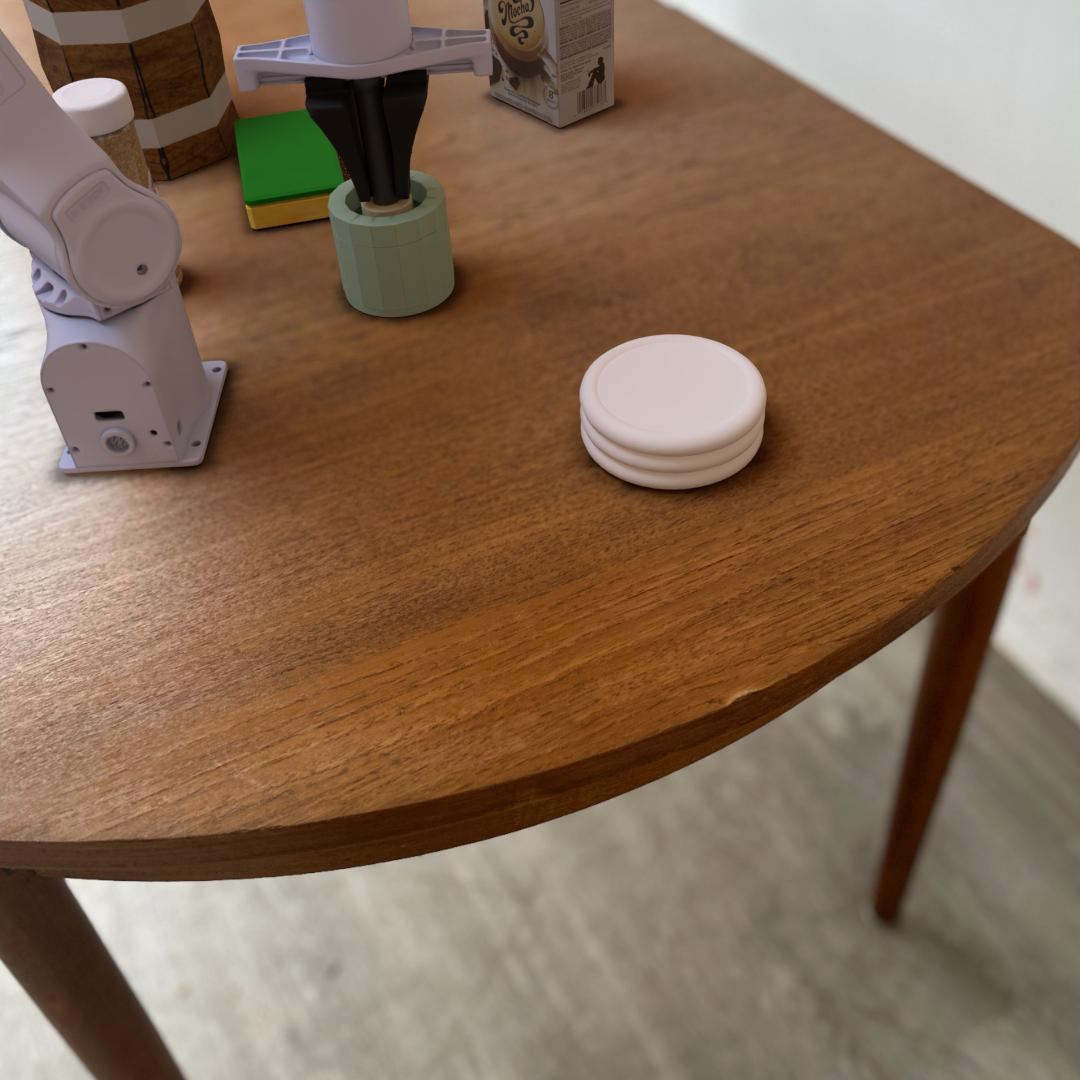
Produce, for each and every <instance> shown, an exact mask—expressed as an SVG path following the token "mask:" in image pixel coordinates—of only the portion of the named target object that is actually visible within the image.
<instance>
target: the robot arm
mask: <svg viewBox="0 0 1080 1080" xmlns="http://www.w3.org/2000/svg"><path fill="white" fill-rule="evenodd" d="M302 4H303V9H304V14H305V18H306V26H307V30H308V33H306V34H301V35H295V36H291V37H285V38H280V39H276V40H270V41H265V42H259V43H252V44H240V45H238V46H237V48H236V50H235V53H234V54H233V57H232V63H233V67H234V71H235V75H236V79H237V80H236V81H237V84H238V88H239V91H240V93H247V92H257V91H259V90H260V89H261V87H263V86H264V87H265V86H279V85H280V86H281V85H294V84H304V88H305V100H304V106H305V109H307V112H308V114H309V116H310V118H311V119H312V120H313V121H314V122H315V123H316V124H317V126H318V127H319V128H320V129H321V130H322V132H323V133H324V134H325V136H326V137H327V138H328V140H329V141H330V143H331V144H332V145H333V147H334V149H335V150H336V152H337V156H338V158H340V160H341V162H342V164H343V166H344V167H345V169H346V172H347V173H348V176H349V178H350V179H351V180H352V182H353V185H354V187H355V190H356V193H357V196H358V199H359V202H371V191H370V185H369V179H368V174H367V169H366V163H365V157H364V151H363V145H362V139H361V133H360V127H359V121H358V115H357V109H356V103H355V97H354V91H353V89H352V87H351V83H350V80H351V79H367V78H374V77H379V76H381V77H382V78H385V85H384V92H383V99H382V100H383V107H384V111H385V115H386V119H387V124H388V129H389V134H390V139H391V145H392V150H393V159H394V174H395V187H396V193H397V198H398V200H406V199H409V198H410V188H411V181H410V170H411V159H412V153H413V148H414V144H415V139H416V136H417V132H418V128H419V126H420V122H421V119H422V116H423V113H424V110H425V107H426V103H427V99H428V92H429V81H430V76H434V75H444V74H445V75H449V74H465V73H473V74H472V75H473V76H474V77H489V76H492V75H493V59H492V46H491V34H490V29H485V28H479V29H477V28H476V29H464V28H463V29H462V28H450V27H449V28H448V27H433V26H420V25H411V17H410V8H409V0H302ZM0 230H1V231H2V232H3V233H4V234H5V235H6V236H7V237H8V238H10V239H11V240H12V241H13V242H15V243H17V244H19V245H20V246H22V247H24V248H25V249H27V250H28V252H29V254H30V256H31V282H32V285H31V288H32V290H33V293H34V296H35V299H36V300H37V303H38V305H39V308H40V311H41V313H42V316H43V320H44V323H45V329H46V345H45V351H44V355H43V359H42V361H41V365H40V371H39V378H40V385H41V388H42V392H43V394H44V396H45V398H46V401H47V403H48V406H49V407H50V410H51V413H52V415H53V417H54V419H55V422H56V424H57V426H58V429H59V431H60V434H61V436H62V439H63V441H64V443H65V447H64V450H63V452H62V455H61V457H60V459H59V462H58V468H59V470H60V472H61V473H63V474H81V473H96V472H113V471H115V472H116V471H129V470H146V469H162V468H164V469H165V468H180V467H194V466H195V467H196V466H198V465H200V464H202V462H203V461H204V458H205V455H206V451H207V448H208V444H209V440H210V436H211V434H212V433H211V432H212V429H213V425H214V421H215V419H216V415H217V410H218V407H219V402H220V399H221V396H222V391H223V388H224V384H225V382H226V381H225V380H226V378H227V374H228V371H229V367H228V364H227V362H226V361H224V360H207V361H203V360H202V358H201V355H200V352H199V351H200V350H199V347H198V344H197V341H196V338H195V334H194V331H193V328H192V325H191V322H190V318H189V315H188V312H187V308H186V305H185V302H184V299H183V295H182V293H181V292H182V291H181V288H180V286H179V285H178V282H177V279H176V275H175V270H176V268H177V265H178V266H179V262H180V260H181V254H182V250H183V248H182V247H183V236H182V229H181V226H180V223H179V220H178V217H177V216H176V213H175V211H174V210H173V209H172V207H171V206H170V204H169V203H168V202H167V201H166V200H165V199H164V198H163V197H162V196H160V195H159V194H158V193H157V192H156V193H154V192H153V191H151V190H149V189H147V188H145V187H143V186H141V185H138V184H136V183H134V182H132V181H131V180H129V179H128V178H126V177H125V176H124V175H123V174H122V173H121V172H120V170H119V169H118V168H117V167H116V165H115V164H114V163H113V161H112V160H111V159H110V157H109V156H108V155H107V154H106V153H105V152H104V151H103V150H102V149H101V148H100V147H99V146H98V145H97V144H96V143H95V142H94V141H93V140H92V139H91V138H90V137H89V136H88V135H87V134H86V133H85V132H84V131H83V130H82V129H81V128H80V127H79V126H78V125H77V124H76V123H75V122H74V121H73V120H72V119H71V118H70V117H69V116H68V115H67V114H66V113H65V112H64V111H63V110H62V109H61V108H60V106H59V105H58V104H57V103H56V101H55V100H54V99H53V98H52V95H51V94H50V92H49V90H47V88H46V87H45V86H44V84H43V82H42V81H41V80H40V79H39V78H38V76H37V75H36V74H35V72H34V71H33V70H32V68H31V67H30V66H29V64H28V63H27V62H26V61H25V59H24V58H23V57H22V55H21V54H20V52H19V51H18V50H17V49H16V47H15V46H14V45H13V43H12V42H11V41H10V40H9V37H8V36H7V35H6V34H5V32H4V31H3V30H2V29H1V28H0Z"/></svg>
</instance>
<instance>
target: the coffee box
mask: <svg viewBox="0 0 1080 1080" xmlns="http://www.w3.org/2000/svg"><path fill="white" fill-rule="evenodd" d="M482 6H483V18H484V29H490V34H491V46H492V59H493V75H492V76H488V81H489V93H490V96H491V97H493V98H496V99H498V100H500V101H502V102H504V103H506V104H508V105H511V106H513V107H514V108H516V109H519V110H521V111H523V112H525V113H527V114H529V115H531V116H533V117H536V118H537V119H540V120H542V121H544V122H545V123H548V124H550V125H552V126H554V127H556V128H563V127H566V126H568V125H571V124H573V123H575V122H577V121H580V120H582V119H585V118H586V117H590V116H591V115H593V114H596V113H598V112H601V111H603V110H606V109H608V108H610V107H612V106H614V105H615V0H482Z"/></svg>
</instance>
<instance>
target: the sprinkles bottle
mask: <svg viewBox="0 0 1080 1080" xmlns="http://www.w3.org/2000/svg"><path fill="white" fill-rule="evenodd" d="M51 96H52V98H53V99H54V100H55V101H56V103H57V104H58V105H59V106H60V108H61V109H62V110H63V111H64V112H65V113H66V114H67V115H68V116H69V117H70V118H71V119H72V120H73V121H74V122H75V123H76V124H77V125H78V126H79V127H80V128H81V129H82V130H83V131H84V132H85V133H86V134H87V135H88V136H89V137H90V138H91V139H92V140H93V141H94V142H95V143H96V144H97V145H98V146H99V147H100V148H101V149H102V150H103V151H104V152H105V153H106V154H107V155H108V156H109V157H110V159H111V160H112V161H113V163H114V164H115V165H116V167H117V168H118V169H119V170H120V172H121V173H122V174H123V175H124V176H125V177H126V178H128V179H129V180H131V181H132V182H134V183H136V184H138V185H141V186H143V187H145V188H147V189H149V190H151V191H153V192H154V193H156V194H157V191H156V188H155V185H154V180H152V177H151V174H150V171H149V169H148V167H147V164H146V161H145V158H144V154H143V151H142V147H141V144H140V142H139V138H138V135H137V131H136V128H135V125H134V122H135V120H134V118H133V117H134V110H133V106H132V103H131V100H130V97H129V94H128V91H127V88H126V86H125V85H124V84H123V83H121V82H120V81H117V80H114V79H109V78H92V79H85V80H80V81H77V82H73V83H70V84H68V85H66V86H63V87H62V88H60V89H58V90H57V91H56V92H55V93H52V95H51ZM175 275H176V279H177V282H178V285H179V287H180V286H181V284H182V282H183V278H184V275H183V272H182V269H181V268H180V267H179V264H178V265H177V268H176V270H175Z"/></svg>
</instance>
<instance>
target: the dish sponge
mask: <svg viewBox="0 0 1080 1080" xmlns="http://www.w3.org/2000/svg"><path fill="white" fill-rule="evenodd" d="M234 126H235V134H236V141H235V143H236V148H237V156H238V164H239V172H240V180H241V187H242V195H243V201H244V205H245V210H246V213H247V217H248V222H249V225H250V229H254V230H259V229H265V228H272V227H278V226H283V225H289V224H294V223H295V224H296V223H301V222H308V221H313V220H320V219H326V218H330V216H329V211H328V202H329V197H330V194H331V193H332V192H333V191H334V190H335V189H336V188H337V187H338V186H339V185H340V184H342V183H344V182H345V179H344V175H343V171H342V168H341V164H340V160H339V155H338V153H337V152H336V150H335V149H334V147H333V145H332V144H331V143H330V141H329V140H328V138H327V137H326V136H325V134H324V133H323V132H322V130H321V129H320V128H319V127H318V126H317V124H316V123H315V122H314V121H313V120H312V119H311V118H310V116H309V114H308V112H307V109H306V108H303V109H297V110H292V111H289V110H288V111H283V112H275V113H271V114H265V115H264V114H263V115H258V116H251V117H244V118H240V119H238V120H236V121H235V122H234Z"/></svg>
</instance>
